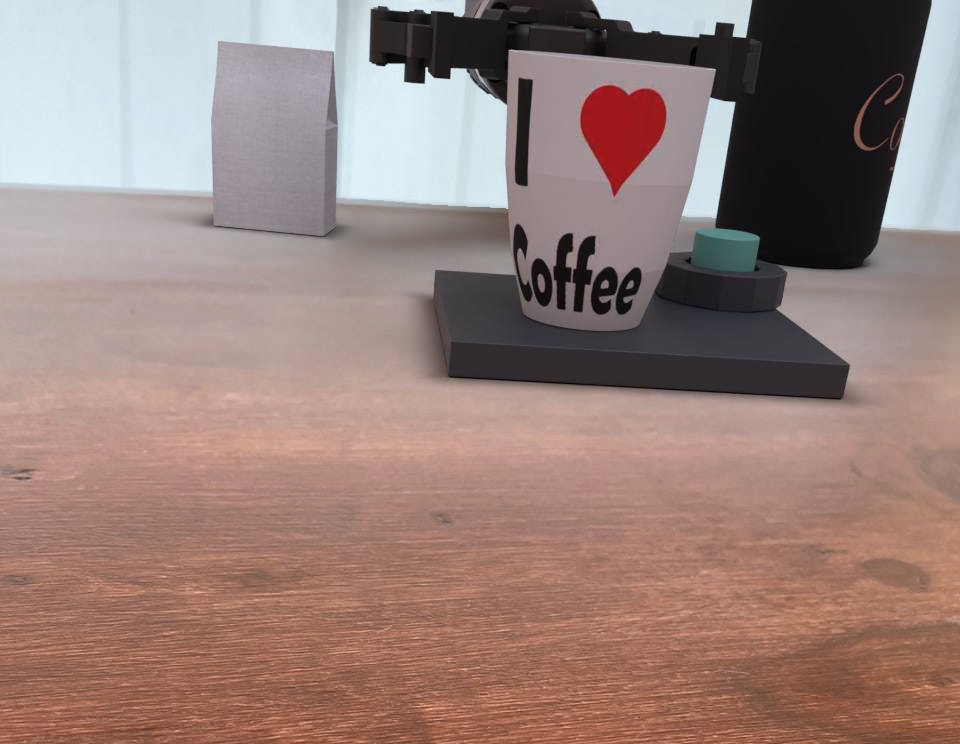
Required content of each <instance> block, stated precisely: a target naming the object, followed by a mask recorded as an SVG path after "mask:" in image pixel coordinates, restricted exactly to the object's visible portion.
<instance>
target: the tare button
mask: <svg viewBox="0 0 960 744" xmlns="http://www.w3.org/2000/svg"><path fill="white" fill-rule="evenodd" d="M759 241H760V238H759V236H757V235H754V234H751V233H747V232H742V231H736V230H728V229H716V228H715V227H714V228H713V227H709V228H708V227H705V228H698V229H697V230H695V234H694V239H693V246H692V251H691V252H692V258H691V264H692V265H695V266H699V267H702V268H709V269H715V270H721V271H735V272H754V268H755V263H756V257H757V252H758V246H759Z"/></svg>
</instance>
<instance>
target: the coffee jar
mask: <svg viewBox="0 0 960 744" xmlns="http://www.w3.org/2000/svg"><path fill="white" fill-rule="evenodd" d="M932 5H933V0H751V5H750V10H749V16H748V22H747V29H746V35H745V38H750V39H756V41H761V42H760V43H762V49H761V55H760V61H759V67H758V73H757V79H756V85H755V91H754V94H752V95H747V96H741V98H740V102H734V108H733V114H732V120H731V125H730V132H729V138H728V145H727V150H726V155H725V162H724V169H723V175H722V179H721V180H722V182H721V185H720V193H719V199H718V205H717V211H716V215H715V222H714V228H716V229H728V230H736V231H742V232H747V233H751V234H754V235H757V236H759V238H760V241H759V246H758V252H757V257H756V259H757V260H761V261H764V262H768V263H772V264H779V265H785V266H795V267H805V268H816V269H848V268H855V267H859V266H862V264H863V263H864V261H865V260H866V259H867V258H868V257H869V256H870V255H872V253H873V252H874V250H875V249H876V247H877V245H878V244H879V239H880V235H881V229H882V226H883V221H884V217H885V211H886V208H887V203H888V198H889V194H890V190H891V186H892V182H893V178H894V173H895V169H896V164H897V160H898V155H899V151H900V146H901V142H902V137H903V132H904V129H905V124H906V120H907V115H908V111H909V108H910V107H909V106H910V103H911V98H912V94H913V88H914V85H915V81H916V76H917V71H918V67H919V63H920V58H921V54H922V51H923V45H924V42H925V41H924V40H925V36H926V31H927V28H928V24H929V19H930V15H931V10H932ZM755 43H758V42H755Z"/></svg>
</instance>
